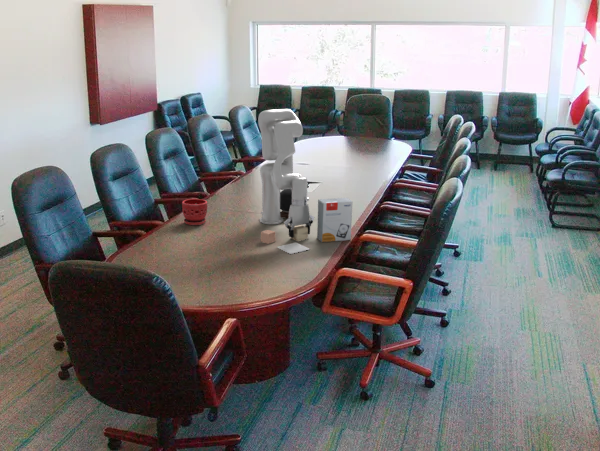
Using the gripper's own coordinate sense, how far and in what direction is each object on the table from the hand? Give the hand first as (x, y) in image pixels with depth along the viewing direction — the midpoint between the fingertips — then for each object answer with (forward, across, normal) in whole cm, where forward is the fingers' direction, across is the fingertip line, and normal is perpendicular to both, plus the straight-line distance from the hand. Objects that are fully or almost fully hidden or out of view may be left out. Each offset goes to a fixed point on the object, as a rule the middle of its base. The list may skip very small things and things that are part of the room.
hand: (299, 235), depth 324 cm
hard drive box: (+2, -14, +10) cm, 17 cm away
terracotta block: (+2, +15, -5) cm, 16 cm away
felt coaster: (+2, +11, +11) cm, 16 cm away
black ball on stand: (+2, -18, -36) cm, 40 cm away
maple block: (+2, 0, 0) cm, 2 cm away
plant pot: (+2, +31, -52) cm, 61 cm away
